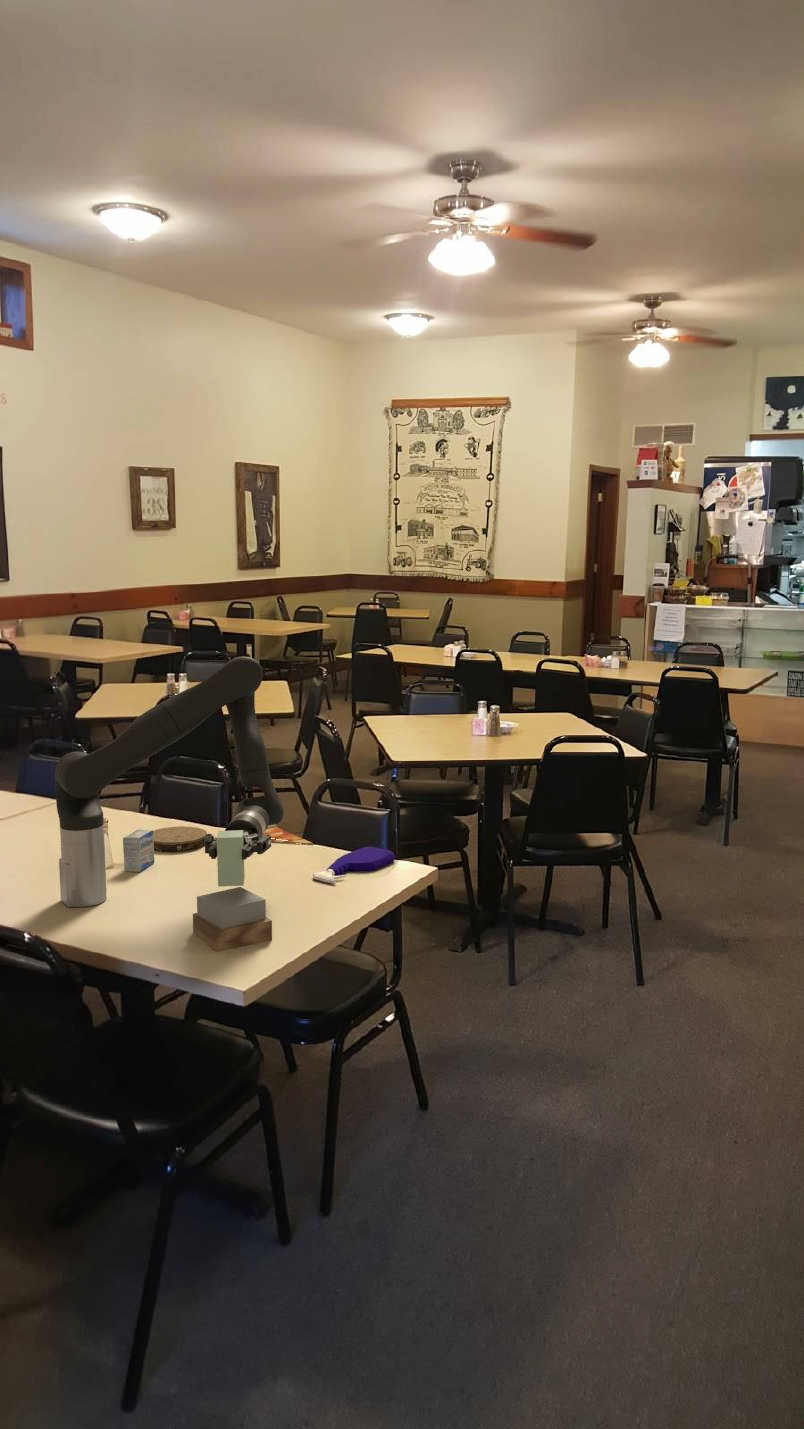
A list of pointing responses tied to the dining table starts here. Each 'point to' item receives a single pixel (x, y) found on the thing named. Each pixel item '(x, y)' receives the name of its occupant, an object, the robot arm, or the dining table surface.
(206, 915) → the slate grey block
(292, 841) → the pizza slice
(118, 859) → the dining table surface
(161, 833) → the brown round disc
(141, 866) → the medicine box
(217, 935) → the walnut base block
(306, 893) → the dining table surface
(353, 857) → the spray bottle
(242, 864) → the sage pillar block
